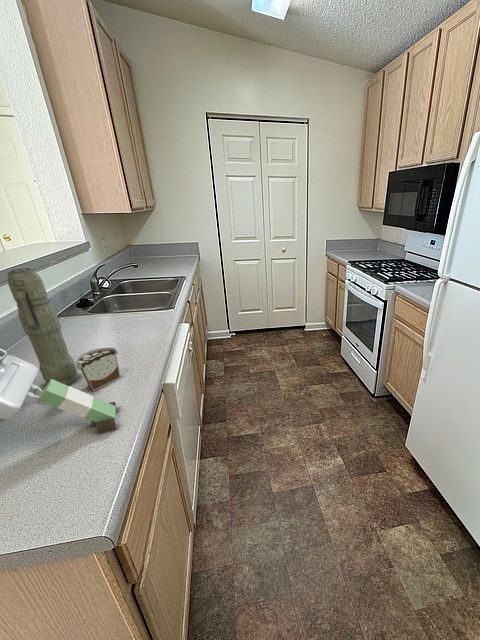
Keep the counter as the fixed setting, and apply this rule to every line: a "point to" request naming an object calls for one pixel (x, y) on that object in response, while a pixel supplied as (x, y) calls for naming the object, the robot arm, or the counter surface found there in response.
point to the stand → (107, 424)
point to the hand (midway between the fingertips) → (48, 400)
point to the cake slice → (99, 367)
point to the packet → (77, 402)
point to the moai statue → (42, 326)
